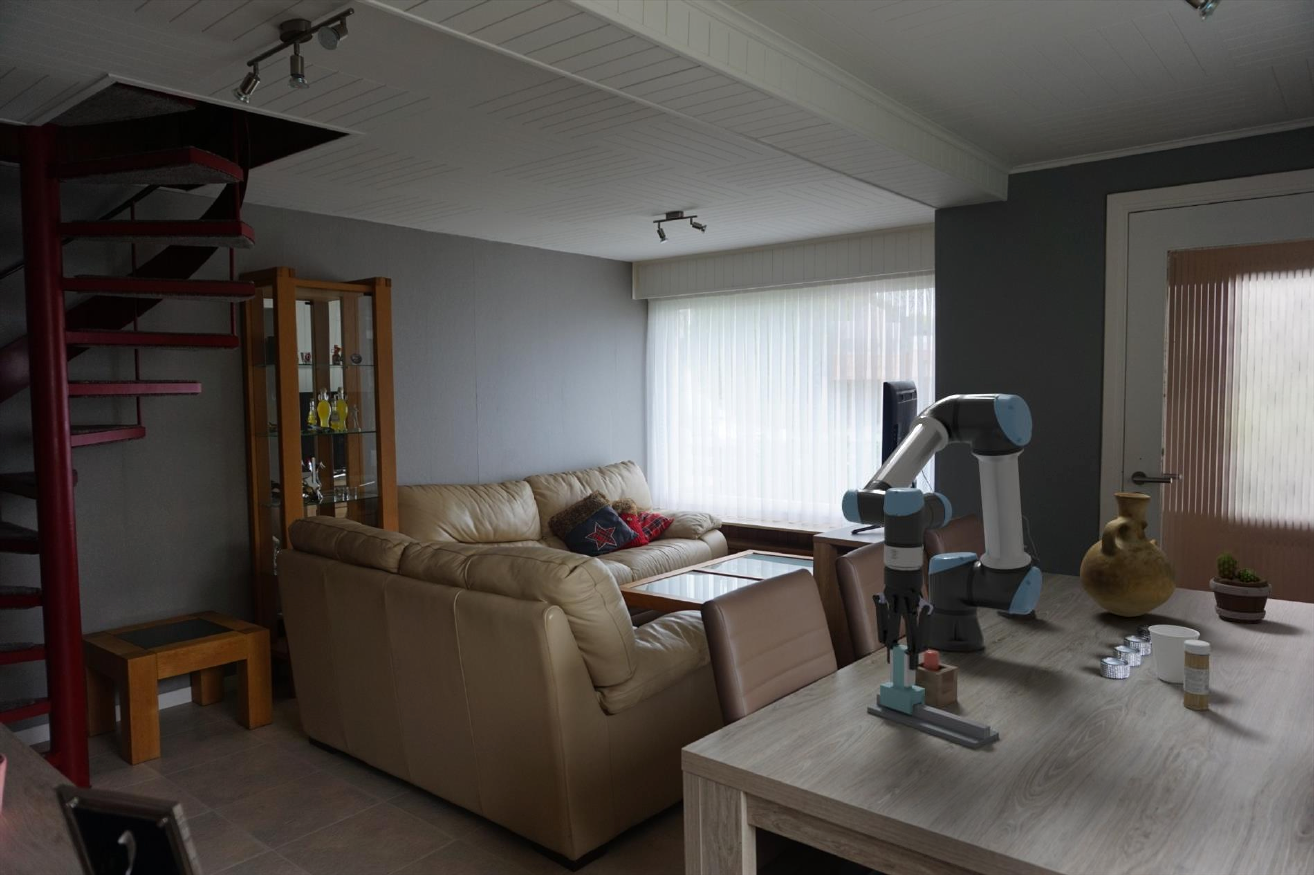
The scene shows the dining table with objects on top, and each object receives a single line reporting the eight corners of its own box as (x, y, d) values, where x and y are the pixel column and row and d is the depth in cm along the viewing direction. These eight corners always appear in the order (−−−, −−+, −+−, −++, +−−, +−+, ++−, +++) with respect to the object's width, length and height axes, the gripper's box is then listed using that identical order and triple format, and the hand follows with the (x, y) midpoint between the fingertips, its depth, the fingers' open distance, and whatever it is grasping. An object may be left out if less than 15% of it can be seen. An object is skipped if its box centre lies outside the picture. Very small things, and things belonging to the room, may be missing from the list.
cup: (1206, 688, 188) (1207, 638, 188) (1156, 685, 190) (1157, 635, 190) (1188, 673, 198) (1189, 625, 197) (1140, 671, 200) (1141, 623, 199)
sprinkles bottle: (1191, 702, 180) (1193, 637, 179) (1213, 709, 176) (1215, 643, 175) (1177, 705, 178) (1179, 640, 177) (1199, 712, 174) (1201, 646, 173)
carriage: (880, 704, 175) (880, 645, 175) (895, 698, 178) (895, 641, 178) (909, 714, 170) (910, 653, 169) (924, 708, 173) (925, 648, 172)
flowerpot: (1269, 616, 247) (1271, 546, 246) (1272, 629, 234) (1274, 555, 233) (1208, 610, 254) (1210, 542, 253) (1208, 622, 241) (1210, 550, 240)
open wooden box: (904, 697, 184) (904, 665, 183) (924, 690, 188) (924, 658, 188) (937, 708, 177) (938, 674, 177) (957, 700, 182) (957, 667, 181)
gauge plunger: (920, 672, 183) (920, 651, 182) (929, 669, 185) (929, 649, 184) (933, 676, 180) (933, 655, 180) (941, 673, 182) (941, 652, 182)
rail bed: (867, 711, 176) (867, 697, 176) (891, 702, 181) (891, 688, 181) (975, 748, 157) (975, 732, 157) (998, 737, 162) (999, 722, 162)
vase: (1139, 631, 233) (1142, 501, 231) (1061, 611, 254) (1063, 492, 252) (1193, 620, 244) (1196, 495, 242) (1113, 601, 265) (1115, 487, 263)
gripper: (859, 562, 176) (858, 677, 178) (926, 575, 164) (925, 697, 165) (882, 558, 181) (881, 669, 182) (949, 569, 169) (948, 688, 170)
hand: (902, 682), depth 174 cm, fingers closed on carriage, 3 cm apart
